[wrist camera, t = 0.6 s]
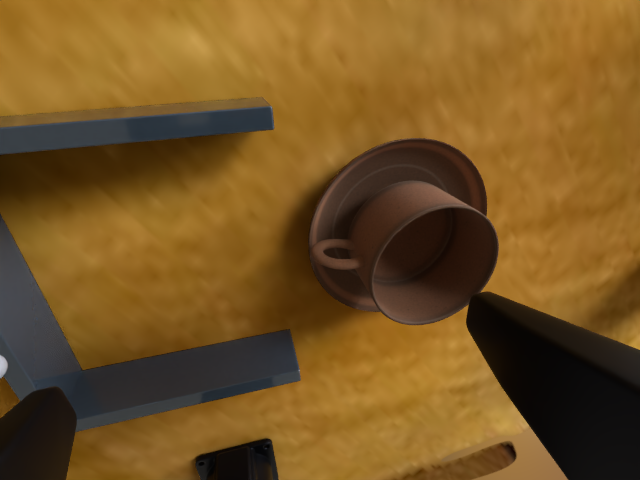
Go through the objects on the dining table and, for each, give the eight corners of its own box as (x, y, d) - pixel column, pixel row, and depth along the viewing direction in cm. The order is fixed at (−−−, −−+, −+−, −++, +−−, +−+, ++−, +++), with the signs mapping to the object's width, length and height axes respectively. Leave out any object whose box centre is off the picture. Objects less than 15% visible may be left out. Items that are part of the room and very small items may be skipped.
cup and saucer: (327, 317, 26) (353, 383, 21) (277, 169, 20) (296, 208, 15) (472, 263, 27) (532, 313, 22) (465, 106, 21) (546, 122, 16)
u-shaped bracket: (291, 338, 26) (313, 434, 20) (38, 390, 23) (-38, 526, 16) (263, 96, 18) (285, 119, 12) (-129, 125, 15) (-410, 180, 8)
